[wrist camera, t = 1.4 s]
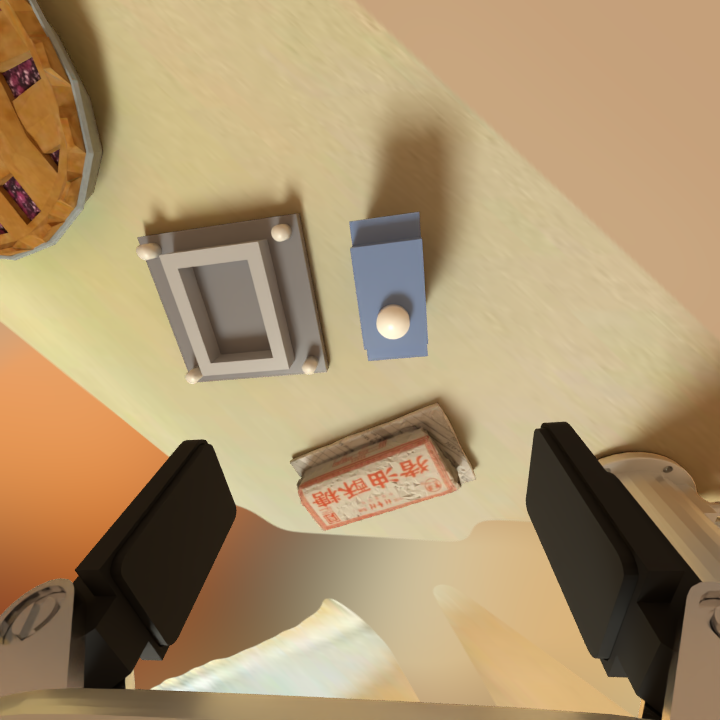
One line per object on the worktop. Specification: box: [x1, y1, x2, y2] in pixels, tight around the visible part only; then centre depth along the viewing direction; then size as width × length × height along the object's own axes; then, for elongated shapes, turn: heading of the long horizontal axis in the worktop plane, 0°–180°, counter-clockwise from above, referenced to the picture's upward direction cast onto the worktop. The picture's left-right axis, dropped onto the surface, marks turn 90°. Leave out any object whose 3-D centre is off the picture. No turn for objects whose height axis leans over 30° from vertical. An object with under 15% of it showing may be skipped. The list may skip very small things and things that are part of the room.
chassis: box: [136, 213, 329, 384], centre depth 30 cm, size 14×14×3 cm
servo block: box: [349, 212, 428, 361], centre depth 25 cm, size 4×10×8 cm, turn 8°
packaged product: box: [290, 403, 476, 531], centre depth 36 cm, size 18×5×10 cm
